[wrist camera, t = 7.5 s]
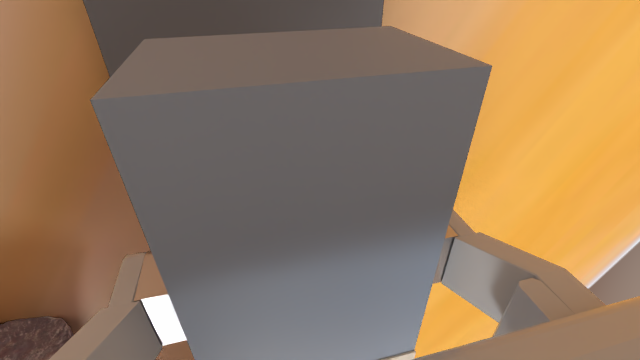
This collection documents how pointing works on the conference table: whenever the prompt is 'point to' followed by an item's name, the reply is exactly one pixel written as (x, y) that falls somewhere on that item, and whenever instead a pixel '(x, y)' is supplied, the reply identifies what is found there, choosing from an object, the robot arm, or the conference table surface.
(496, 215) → the conference table surface
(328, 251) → the block
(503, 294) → the robot arm
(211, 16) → the mat
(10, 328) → the stone
